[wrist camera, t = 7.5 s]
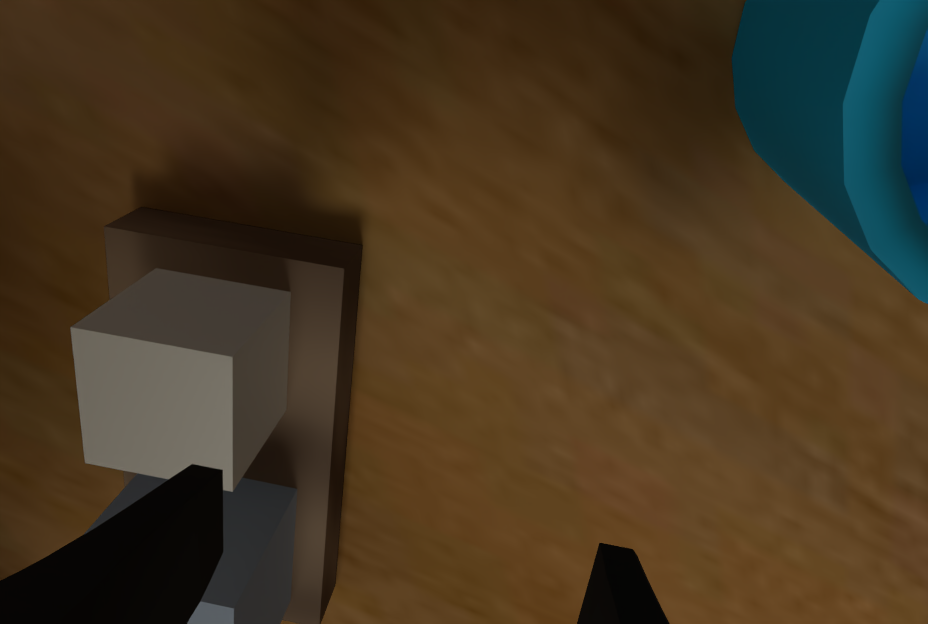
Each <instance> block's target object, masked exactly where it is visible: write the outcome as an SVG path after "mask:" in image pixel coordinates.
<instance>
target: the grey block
mask: <svg viewBox="0 0 928 624" xmlns="http://www.w3.org/2000/svg"><path fill="white" fill-rule="evenodd" d="M290 298H291V292H288V291H282V290H277V289H271V288H265V287H260V286H254V285H249V284H243V283H237V282H232V281H226V280H221V279H215V278H209V277H204V276H198V275H192V274H187V273H181V272H176V271H170V270H164V269H159V268H156V269H154V270H153V271H151V272H150V273H148V274H147V275H145V276H144V277H142V278H141V279H140V280H138V281H137V282H135V283H134V284H132V285H131V286H129V287H128V288H127V289H125V290H124V291H122V292H121V293H119V294H118V295H116V296H115V297H113V298H112V299H111V300H109V301H108V302H106V303H105V304H103V305H102V306H100V307H99V308H97V309H96V310H95V311H93V312H92V313H90V314H89V315H87V316H86V317H84V318H83V319H82V320H80V321H79V322H77V323H76V324H74V325H73V326H71V327H70V328H71V337H72V346H73V356H74V365H75V374H76V384H77V393H78V402H79V412H80V421H81V430H82V439H83V449H84V458H85V463H88V464H93V465H98V466H103V467H108V468H113V469H118V470H123V471H129V472H134V473H139V474H144V475H149V476H154V477H159V478H164V479H170V478H171V477H173V476H174V475H176V474H177V473H179V472H181V471H182V470H184V469H185V468H187V467H188V466H190V465H191V464H195V465H200V466H205V467H211V468H216V469H221V470H223V490H226V491H231V492H233V491H234V489H235V488H236V486H237V484H238V483H239V481H240V480H241V478H242V477H243V475H244V474H245V472H246V471H247V469H248V468H249V466H250V465H251V463H252V462H253V460H254V459H255V457H256V455H257V454H258V452H259V451H260V449H261V448H262V446H263V445H264V443H265V442H266V440H267V439H268V437H269V436H270V434H271V433H272V431H273V430H274V428H275V426H276V425H277V423H278V422H279V420H280V419H281V417H282V416H283V414H284V413H285V411H286V408H287V381H288V353H289V326H290Z"/></svg>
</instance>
